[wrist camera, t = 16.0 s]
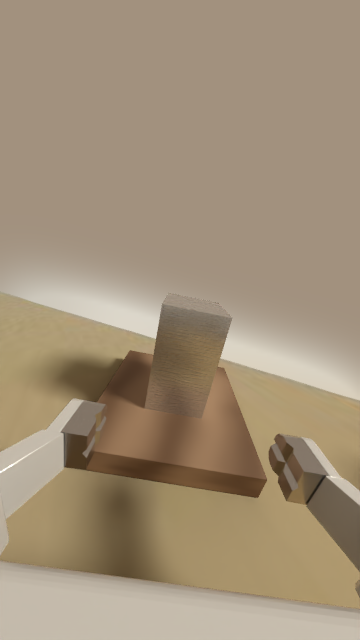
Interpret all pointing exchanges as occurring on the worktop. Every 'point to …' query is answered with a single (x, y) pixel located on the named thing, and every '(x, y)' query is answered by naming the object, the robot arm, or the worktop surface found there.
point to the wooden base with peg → (176, 437)
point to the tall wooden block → (186, 355)
